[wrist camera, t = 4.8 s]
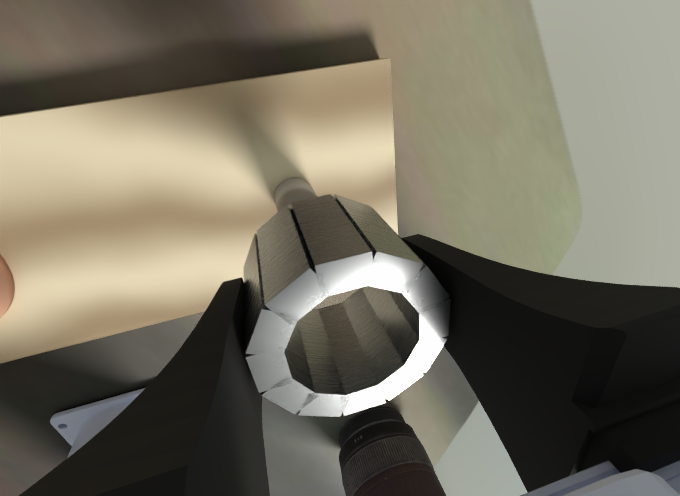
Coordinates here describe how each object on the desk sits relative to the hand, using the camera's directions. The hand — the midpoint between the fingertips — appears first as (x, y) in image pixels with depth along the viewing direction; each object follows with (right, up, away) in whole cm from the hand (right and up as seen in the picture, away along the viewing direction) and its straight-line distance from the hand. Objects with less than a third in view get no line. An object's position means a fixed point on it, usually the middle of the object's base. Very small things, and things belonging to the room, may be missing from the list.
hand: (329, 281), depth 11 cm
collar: (0, 0, +1) cm, 1 cm away
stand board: (-11, +3, +7) cm, 14 cm away
